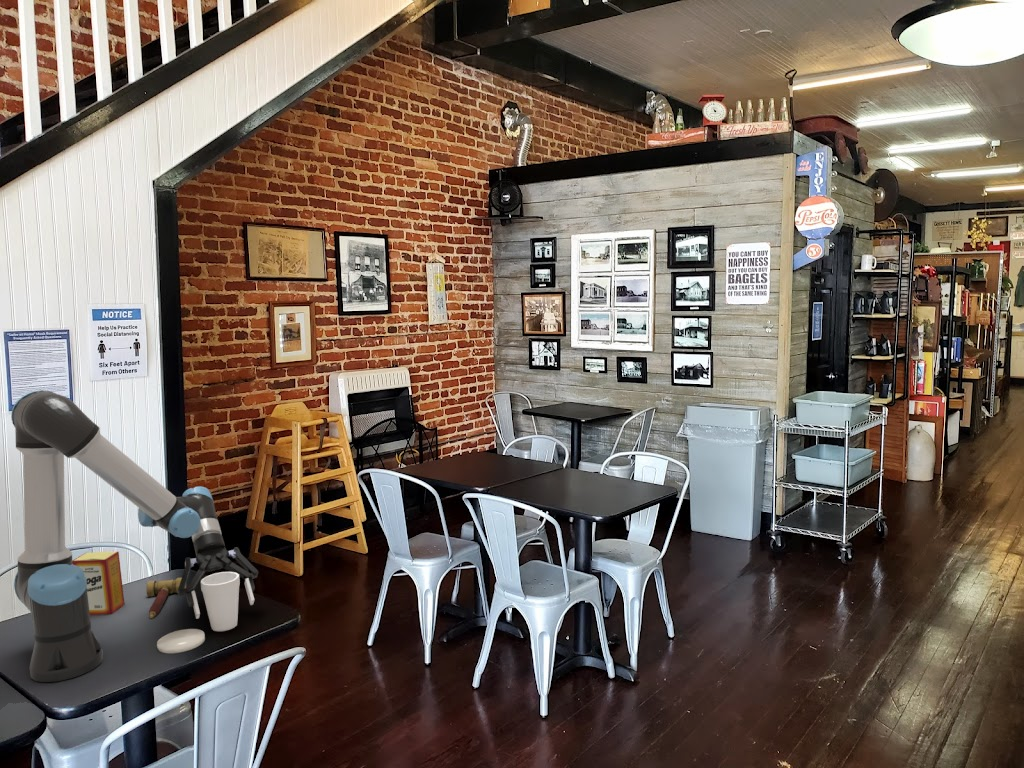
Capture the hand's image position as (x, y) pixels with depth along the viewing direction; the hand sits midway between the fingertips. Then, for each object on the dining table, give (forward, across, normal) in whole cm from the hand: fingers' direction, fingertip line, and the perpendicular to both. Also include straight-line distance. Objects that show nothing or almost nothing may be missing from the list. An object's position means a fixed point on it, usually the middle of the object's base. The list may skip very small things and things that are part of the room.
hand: (225, 609), depth 202 cm
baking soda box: (-22, +26, -29) cm, 45 cm away
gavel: (-17, +12, -25) cm, 32 cm away
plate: (+5, +12, -3) cm, 13 cm away
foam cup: (+2, 0, -5) cm, 6 cm away
